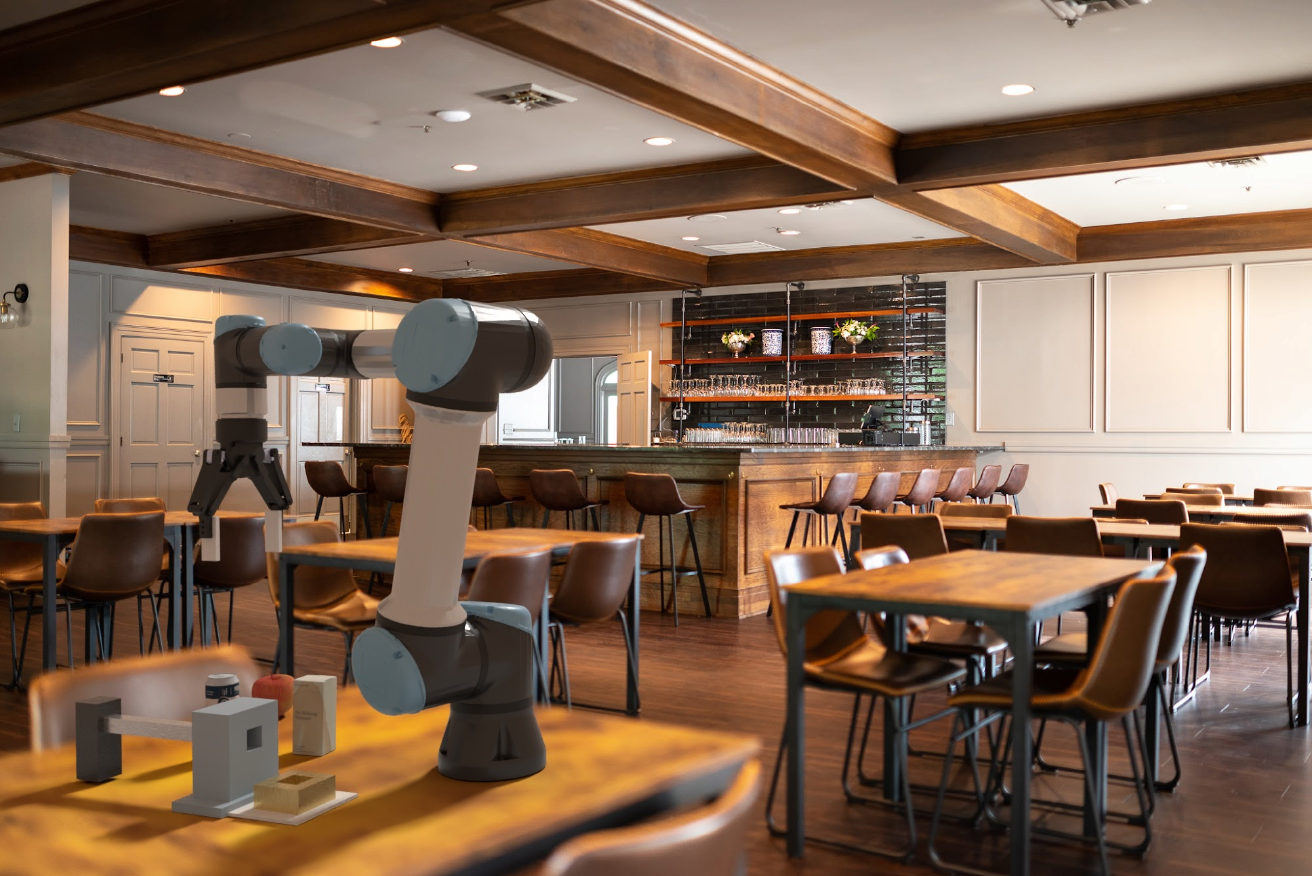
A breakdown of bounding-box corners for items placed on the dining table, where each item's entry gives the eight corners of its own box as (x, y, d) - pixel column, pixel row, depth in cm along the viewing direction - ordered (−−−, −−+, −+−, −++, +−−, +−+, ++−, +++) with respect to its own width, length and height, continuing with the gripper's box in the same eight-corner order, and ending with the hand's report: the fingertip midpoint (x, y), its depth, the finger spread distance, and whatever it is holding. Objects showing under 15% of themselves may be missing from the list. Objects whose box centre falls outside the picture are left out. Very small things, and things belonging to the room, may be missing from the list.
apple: (302, 710, 199) (301, 664, 199) (291, 721, 192) (291, 672, 192) (258, 712, 199) (258, 665, 199) (246, 722, 191) (245, 673, 191)
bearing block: (297, 786, 155) (296, 696, 155) (222, 818, 142) (220, 720, 142) (249, 780, 158) (248, 692, 158) (171, 811, 145) (170, 715, 145)
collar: (292, 792, 151) (335, 798, 148) (253, 808, 145) (298, 815, 142) (291, 769, 151) (335, 775, 148) (253, 784, 145) (298, 790, 142)
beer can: (228, 762, 167) (227, 679, 167) (198, 761, 168) (197, 678, 168) (246, 753, 172) (245, 672, 172) (217, 752, 173) (216, 671, 173)
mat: (358, 796, 151) (358, 793, 151) (296, 825, 139) (296, 822, 139) (289, 788, 155) (289, 785, 155) (224, 815, 144) (224, 812, 144)
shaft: (236, 788, 153) (235, 708, 153) (214, 797, 149) (213, 715, 149) (100, 771, 162) (99, 695, 162) (76, 779, 158) (75, 702, 158)
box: (291, 754, 171) (290, 679, 171) (306, 747, 175) (306, 673, 175) (323, 756, 170) (322, 680, 170) (338, 749, 174) (337, 675, 174)
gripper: (277, 418, 191) (278, 547, 191) (159, 416, 167) (161, 563, 167) (314, 417, 188) (316, 549, 188) (200, 415, 165) (202, 565, 165)
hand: (243, 556), depth 178 cm, fingers open, 13 cm apart
